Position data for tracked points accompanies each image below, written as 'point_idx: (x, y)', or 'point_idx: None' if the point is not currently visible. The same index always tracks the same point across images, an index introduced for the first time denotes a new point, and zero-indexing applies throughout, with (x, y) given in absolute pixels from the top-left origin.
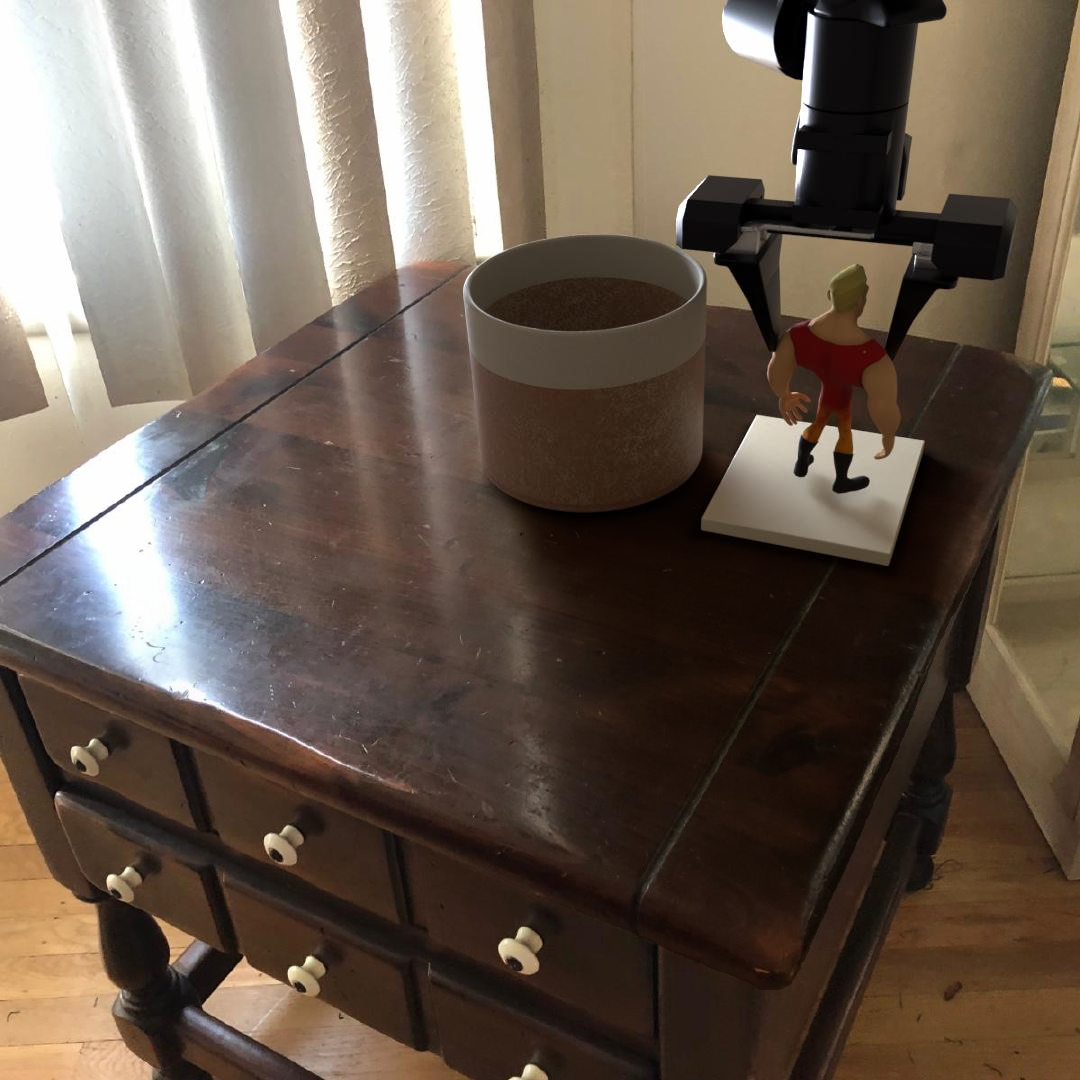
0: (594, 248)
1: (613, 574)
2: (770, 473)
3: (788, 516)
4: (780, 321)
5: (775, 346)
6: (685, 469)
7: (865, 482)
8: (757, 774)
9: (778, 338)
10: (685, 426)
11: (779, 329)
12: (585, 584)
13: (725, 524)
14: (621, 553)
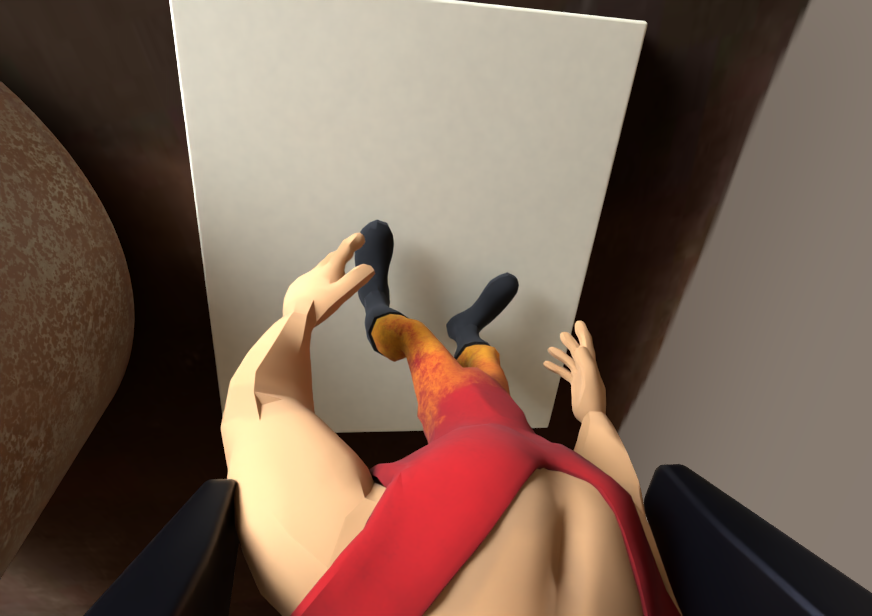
0: None
1: (148, 534)
2: (303, 268)
3: (375, 390)
4: (206, 569)
5: (236, 543)
6: (122, 353)
7: (511, 299)
8: None
9: (229, 521)
10: (69, 436)
11: (219, 556)
12: (121, 560)
13: None
14: (131, 497)
